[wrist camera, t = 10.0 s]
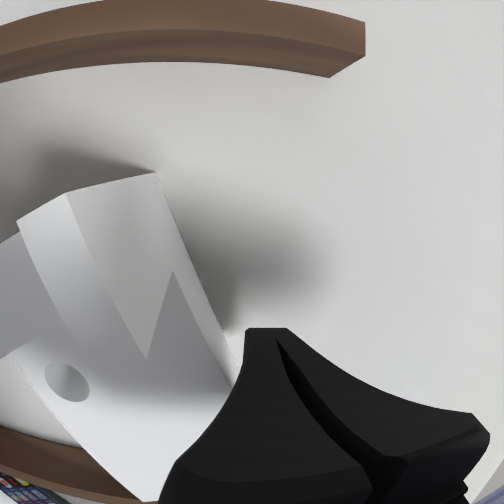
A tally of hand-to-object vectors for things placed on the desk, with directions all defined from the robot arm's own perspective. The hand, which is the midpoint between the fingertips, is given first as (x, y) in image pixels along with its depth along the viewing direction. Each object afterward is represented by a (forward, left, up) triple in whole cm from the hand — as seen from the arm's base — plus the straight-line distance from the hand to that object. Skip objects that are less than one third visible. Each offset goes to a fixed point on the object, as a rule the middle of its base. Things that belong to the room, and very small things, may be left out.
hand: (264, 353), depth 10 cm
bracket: (-2, +4, -3) cm, 6 cm away
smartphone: (-19, +18, -3) cm, 26 cm away
